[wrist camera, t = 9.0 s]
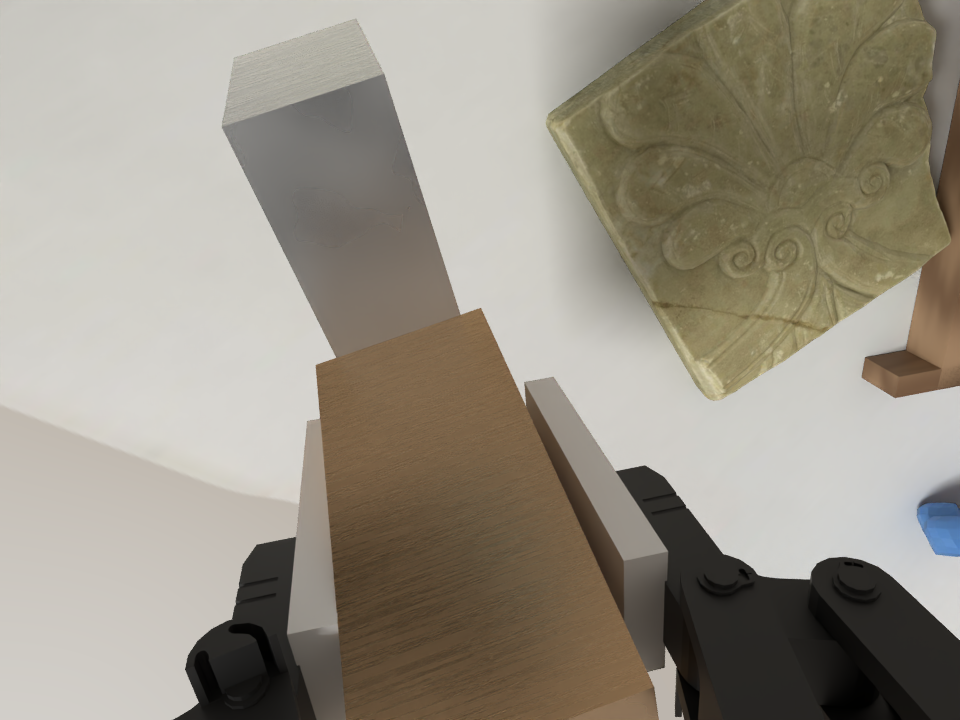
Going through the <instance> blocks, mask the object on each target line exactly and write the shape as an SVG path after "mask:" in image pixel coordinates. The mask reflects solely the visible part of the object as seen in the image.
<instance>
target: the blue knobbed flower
mask: <svg viewBox="0 0 960 720" xmlns="http://www.w3.org/2000/svg"><path fill="white" fill-rule="evenodd" d="M917 518H918V521H919V523H920V525H921V528H922V530H923V532H924V533H925V535H926V537H927V539H928V541H929V543H930V546H931V547H932V549H933V551H934V552H935V554H936V555H945V556H955V557H958V556H960V509H959V508H958V507H957V505H956V504H955V503H925V504H924V505H922V506H921V507H919V508H918V509H917Z"/></svg>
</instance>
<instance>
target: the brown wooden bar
mask: <svg viewBox="0 0 960 720" xmlns="http://www.w3.org/2000/svg"><path fill="white" fill-rule="evenodd" d="M936 199H937V201H938V204H939V207H940V210H941V211H942V213H943V216H944V219H945V222H946V224H947V227H948V231H949V234H950V237H951V242H950V244H949V245H948V246H947V247H945V248H944V249H943V250H941V251H940V252H939V253H937V254H936V255H935V256H933V257H932V258H931V259H930V260H929V261H927V262H926V263H925V264H924V265H923V266H922V271H921V276H920V281H919V286H918V291H917V296H916V301H915V306H914V311H913V316H912V321H911V326H910V331H909V336H908V341H907V346H906V350H904V351H899V352H893V353H888V354H882V355H877V356H871V357H865V362H864V368H863V373H862V378H863V379H865V380H867V381H868V382H870V383H871V384H873V385H875V386H876V387H878V388H880V389H881V390H883V391H884V392H886V393H888V394H889V395H891V396H893V397H894V398H898V397H903V396H908V395H913V394H919V393H924V392H929V391H934V390H940V389H945V388H950V387H955V386H960V81H959V86H958V91H957V96H956V101H955V106H954V111H953V116H952V121H951V126H950V131H949V136H948V141H947V146H946V151H945V156H944V161H943V166H942V171H941V176H940V181H939V186H938V191H937V196H936Z"/></svg>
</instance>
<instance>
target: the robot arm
mask: <svg viewBox="0 0 960 720" xmlns="http://www.w3.org/2000/svg"><path fill="white" fill-rule="evenodd" d="M524 383H525V396H526V408H527V410H528V412H529V414H530V417H531V419H532V421H533V423H534V425H535V428H536V430H537V432H538V434H539V436H540V438H541V441H542V443H543V445H544V447H545V449H546V452H547V454H548V456H549V458H550V460H551V463H552V465H553V467H554V469H555V471H556V473H557V476H558V478H559V480H560V482H561V484H562V487H563V489H564V491H565V493H566V495H567V498H568V500H569V502H570V504H571V506H572V509H573V511H574V513H575V515H576V517H577V519H578V522H579V524H580V526H581V528H582V530H583V533H584V535H585V537H586V539H587V541H588V544H589V546H590V548H591V550H592V552H593V554H594V557H595V559H596V561H597V563H598V565H599V568H600V570H601V572H602V574H603V576H604V579H605V581H606V583H607V585H608V587H609V589H610V592H611V594H612V596H613V598H614V600H615V603H616V605H617V607H618V609H619V611H620V614H621V616H622V618H623V620H624V622H625V625H626V627H627V629H628V631H629V633H630V635H631V638H632V640H633V642H634V644H635V646H636V649H637V651H638V653H639V655H640V657H641V660H642V662H643V664H644V666H645V668H646V670H647V672H649V671H653V670H657V669H661V668H664V667H665V646H666V648H667V650H668V652H669V653H670V655H671V657H672V659H673V661H674V662H675V664H676V666H677V668H676V692H675V717H681V716H682V712H683V716H684V720H960V640H959V639H958V638H956V637H955V636H954V635H953V634H952V633H951V632H950V631H949V630H948V629H947V628H946V627H945V626H944V625H943V624H942V623H941V622H939V621H938V620H937V619H936V618H935V617H934V616H933V615H932V614H931V613H930V612H929V611H928V610H927V609H926V608H925V607H923V606H922V605H921V604H920V603H919V602H918V601H917V600H916V599H915V598H914V597H913V596H912V595H911V594H910V593H909V592H907V591H906V590H905V589H904V588H903V587H902V586H901V585H900V584H899V583H898V582H897V581H896V580H895V579H894V578H893V577H891V576H890V575H889V574H887V573H886V572H884V571H883V570H882V569H880V568H879V567H877V566H875V565H872V564H870V563H867V562H865V561H862V560H858V559H853V558H847V557H837V558H828V559H826V560H824V561H821V562H819V563H817V565H816V566H815V567H814V569H813V570H812V572H811V578H810V580H804V579H779V578H769V577H763V576H759V575H757V573H756V572H755V571H754V569H753V568H751V567H750V566H749V565H747V564H746V563H744V562H743V561H741V560H739V559H736V558H734V557H731V556H728V555H723V554H722V552H721V551H720V550H719V548H718V547H717V546H716V544H715V543H714V542H713V540H712V539H711V538H710V536H709V535H708V534H707V533H706V531H705V530H704V529H703V527H702V526H701V525H700V523H699V522H698V521H697V519H696V518H695V517H694V515H693V514H692V513H691V512H690V510H689V509H687V508H686V505H685V504H684V502H683V501H682V500H681V498H680V497H679V496H677V495H676V492H675V491H674V489H673V488H672V487H671V485H670V484H669V483H668V481H667V480H666V479H665V477H663V476H661V475H660V474H658V473H657V472H655V471H653V470H652V469H650V468H648V467H647V466H640V467H635V468H630V469H625V470H620V471H615V470H614V468H613V467H612V465H611V464H610V462H609V461H608V459H607V458H606V456H605V455H604V453H603V451H602V450H601V448H600V447H599V445H598V444H597V442H596V441H595V439H594V438H593V436H592V435H591V433H590V432H589V430H588V429H587V427H586V426H585V424H584V423H583V421H582V419H581V418H580V416H579V415H578V413H577V412H576V410H575V409H574V407H573V406H572V404H571V403H570V401H569V400H568V398H567V397H566V395H565V394H564V392H563V391H562V389H561V387H560V386H559V384H558V383H557V381H556V380H555V378H554V377H551V378H545V379H539V380H534V381H528V382H524ZM185 670H186V672H187V675H188V677H189V680H190V682H191V685H192V687H193V689H194V692H195V694H196V696H197V699H198V701H199V703H198V704H197V705H196V706H194V707H193V708H192V709H191V710H189V711H187V712H186V713H184V714H182V715H181V716H179V717H177V718H175V719H174V720H346V713H345V702H344V690H343V678H342V667H341V655H340V643H339V632H338V617H337V608H336V597H335V585H334V573H333V562H332V550H331V538H330V527H329V515H328V503H327V492H326V480H325V468H324V457H323V445H322V433H321V422H320V419H316V420H310V421H307V429H306V440H305V450H304V461H303V471H302V482H301V492H300V503H299V514H298V524H297V535H296V537H294V538H288V539H284V540H278V541H273V542H269V543H264V544H259V545H256V547H255V548H254V550H253V551H252V552H251V554H250V555H249V557H248V558H247V559H246V561H245V562H244V564H243V566H242V572H241V576H240V582H239V589H238V592H237V597H236V606H235V607H234V612H233V618H232V620H229V621H226V622H224V623H223V624H220V625H219V626H217V627H215V628H213V629H211V630H210V631H209V632H208V633H206V634H205V635H204V636H203V637H202V638H201V639H199V640H198V641H197V643H196V644H195V646H194V647H193V649H192V650H191V652H190V653H189V655H188V658H187V663H186V668H185Z"/></svg>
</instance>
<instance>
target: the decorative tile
mask: <svg viewBox="0 0 960 720" xmlns="http://www.w3.org/2000/svg"><path fill="white" fill-rule="evenodd" d="M936 35H937V34H936V29H934V28H933V27H932V26H931V25H930V24H929V23H928V22H927V21H925V19H924V17H923V14H922V10H921V7H920V4H919V2H918V0H705V1H703V2H702V3H701V4H699V5H698V6H697V7H695V8H694V9H693V10H691V11H690V12H689V13H687V14H686V15H685V16H683V17H682V18H680V19H679V20H678V21H676V22H675V23H673V24H672V25H671V26H669V27H668V28H666V29H665V30H664V31H662V32H661V33H659V34H658V35H657V36H655V37H654V38H653V39H651V40H650V41H648V42H647V43H645V44H644V45H643V46H641V47H640V48H638V49H637V50H636V51H634V52H633V53H631V54H630V55H629V56H627V57H626V58H624V59H623V60H622V61H620V62H619V63H618V64H616V65H615V66H614V67H612V68H611V69H610V70H608V71H607V72H606V73H604V74H603V75H602V76H600V77H599V78H598V79H596V80H595V81H594V82H592V83H591V84H589V85H588V86H587V87H585V88H584V89H583V90H581V91H580V92H578V93H577V94H576V95H574V96H573V97H571V98H570V99H569V100H567V101H566V102H564V103H563V104H562V105H560V106H559V107H558V108H556V109H555V110H553V111H552V112H551V113H549V114H548V117H547V120H546V126H547V128H548V130H549V132H550V134H551V135H552V137H553V139H554V141H555V142H556V144H557V146H558V148H559V149H560V151H561V153H562V155H563V156H564V158H565V160H566V161H567V163H568V165H569V166H570V168H571V170H572V172H573V173H574V175H575V177H576V179H577V181H578V182H579V184H580V186H581V187H582V189H583V191H584V193H585V195H586V196H587V198H588V200H589V201H590V203H591V205H592V206H593V208H594V210H595V212H596V213H597V215H598V217H599V219H600V220H601V222H602V224H603V226H604V227H605V229H606V231H607V232H608V234H609V236H610V237H611V239H612V241H613V243H614V244H615V246H616V248H617V250H618V251H619V253H620V255H621V257H622V258H623V260H624V262H625V263H626V265H627V267H628V268H629V270H630V272H631V274H632V275H633V277H634V279H635V281H636V282H637V284H638V286H639V287H640V289H641V291H642V293H643V294H644V296H645V298H646V299H647V301H648V303H649V305H650V306H651V308H652V310H653V311H654V313H655V315H656V317H657V319H658V320H659V322H660V324H661V326H662V327H663V329H664V331H665V332H666V334H667V336H668V338H669V340H670V341H671V343H672V344H673V346H674V348H675V350H676V352H677V353H678V355H679V357H680V358H681V360H682V362H683V364H684V365H685V367H686V369H687V370H688V372H689V374H690V375H691V377H692V379H693V381H694V382H695V384H696V386H697V387H698V388H699V389H700V391H701V392H702V393H703V394H704V395H705V397H707V398H708V399H710V400H713V401H715V400H721V399H723V398H725V397H726V396H728V395H730V394H732V393H734V392H735V391H737V390H738V389H740V388H741V387H742V386H744V385H746V384H747V383H749V382H750V381H752V380H753V379H755V378H757V377H758V376H760V375H761V374H763V373H765V372H766V371H768V370H770V369H771V368H773V367H775V366H777V365H778V364H780V363H782V362H783V361H785V360H786V359H787V358H789V357H790V356H792V355H793V354H794V353H796V352H797V351H799V350H800V349H801V348H803V347H804V346H806V345H807V344H808V343H810V342H811V341H813V340H814V339H816V338H817V337H819V336H821V335H822V334H824V333H825V332H826V331H828V330H829V329H830V328H832V327H833V326H834V325H836V324H837V323H838V322H840V321H842V320H843V319H845V318H847V317H848V316H850V315H851V314H853V313H854V312H856V311H857V310H859V309H861V308H862V307H864V306H865V305H867V304H868V303H869V302H871V301H872V300H873V299H875V298H876V297H877V296H879V295H881V294H882V293H884V292H885V291H887V290H888V289H890V288H891V287H893V286H895V285H896V284H898V283H900V282H901V281H903V280H904V279H906V278H907V277H909V276H910V275H912V274H913V273H914V272H916V271H917V270H919V269H920V268H921V267H922V266H923V265H924V264H925V263H926V262H927V261H929V260H930V259H931V258H932V257H933V256H935V255H936V254H937V253H939V252H940V251H941V250H943V249H944V248H945V247H947V246H948V245H949V244H950V242H951V237H950V234H949V231H948V227H947V224H946V222H945V219H944V216H943V213H942V211H941V210H940V207H939V204H938V201H937V199H936V196H935V188H934V185H933V179H932V177H931V174H930V165H929V161H928V158H929V153H930V147H931V145H930V140H931V134H932V121H931V119H930V116H929V114H928V110H927V106H926V104H925V101H924V99H923V96H924V94H925V91H926V89H927V86H928V84H929V82H930V81H931V80H932V77H933V73H932V59H933V56H934V49H935V42H936Z"/></svg>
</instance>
